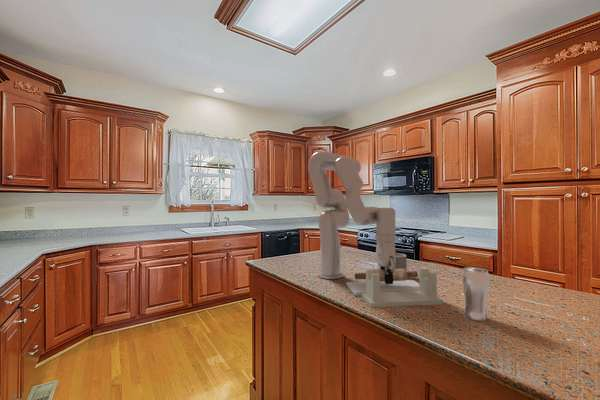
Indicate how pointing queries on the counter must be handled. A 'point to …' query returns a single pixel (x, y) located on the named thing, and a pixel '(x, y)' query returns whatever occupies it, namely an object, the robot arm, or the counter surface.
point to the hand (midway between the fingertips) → (386, 281)
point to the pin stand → (402, 298)
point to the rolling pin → (397, 274)
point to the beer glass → (475, 292)
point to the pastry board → (384, 286)
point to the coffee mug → (400, 261)
